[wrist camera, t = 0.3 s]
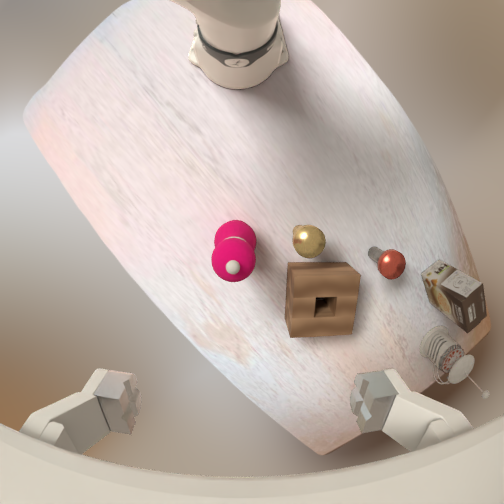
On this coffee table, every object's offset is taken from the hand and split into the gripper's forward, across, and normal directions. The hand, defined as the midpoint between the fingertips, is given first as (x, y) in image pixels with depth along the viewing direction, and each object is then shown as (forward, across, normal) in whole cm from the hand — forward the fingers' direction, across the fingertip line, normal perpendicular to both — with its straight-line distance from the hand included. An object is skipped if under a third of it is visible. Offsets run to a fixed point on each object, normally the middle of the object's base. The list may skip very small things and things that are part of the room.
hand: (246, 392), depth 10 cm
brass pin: (+47, -11, +3) cm, 48 cm away
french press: (+47, -50, +32) cm, 76 cm away
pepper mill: (+47, +1, +4) cm, 47 cm away
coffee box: (+47, -45, +14) cm, 66 cm away
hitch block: (+47, -15, +15) cm, 51 cm away
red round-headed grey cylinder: (+47, -27, +7) cm, 54 cm away
